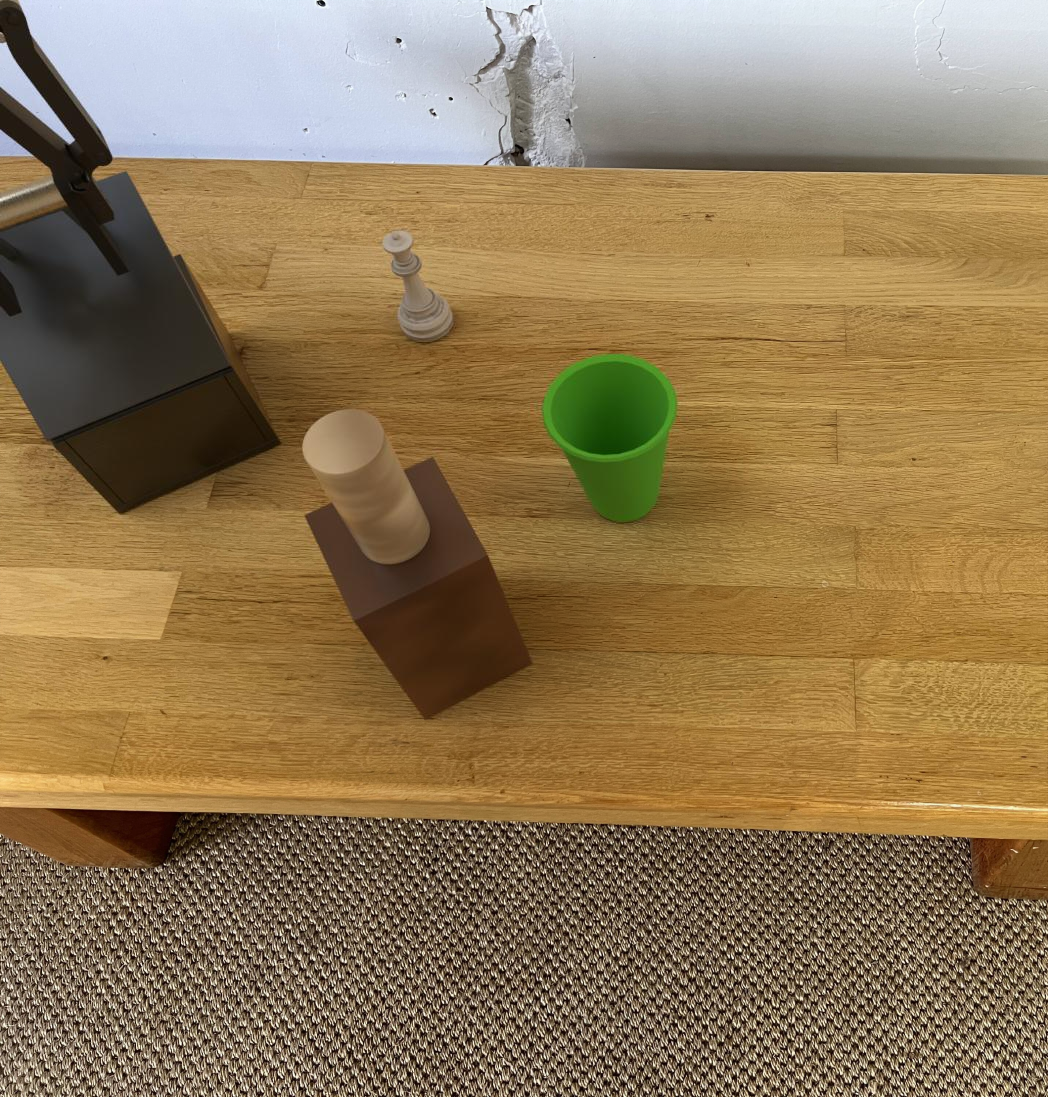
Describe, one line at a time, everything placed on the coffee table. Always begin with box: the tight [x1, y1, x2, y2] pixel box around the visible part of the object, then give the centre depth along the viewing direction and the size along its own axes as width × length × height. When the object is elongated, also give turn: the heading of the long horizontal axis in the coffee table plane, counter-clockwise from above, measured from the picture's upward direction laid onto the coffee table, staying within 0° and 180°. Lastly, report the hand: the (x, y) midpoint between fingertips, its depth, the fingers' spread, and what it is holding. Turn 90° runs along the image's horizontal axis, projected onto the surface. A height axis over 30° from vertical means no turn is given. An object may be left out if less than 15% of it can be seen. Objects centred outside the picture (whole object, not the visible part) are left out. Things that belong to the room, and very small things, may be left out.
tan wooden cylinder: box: [301, 408, 430, 564], centre depth 54 cm, size 4×4×9 cm
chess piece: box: [381, 230, 454, 343], centre depth 82 cm, size 4×4×10 cm
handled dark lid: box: [0, 170, 232, 442], centre depth 66 cm, size 14×13×9 cm
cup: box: [541, 353, 679, 523], centre depth 73 cm, size 9×9×11 cm
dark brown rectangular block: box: [304, 456, 533, 721], centre depth 65 cm, size 8×8×15 cm
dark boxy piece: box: [50, 253, 282, 515], centre depth 78 cm, size 14×13×9 cm
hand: (65, 280), depth 66 cm, fingers closed on handled dark lid, 6 cm apart
